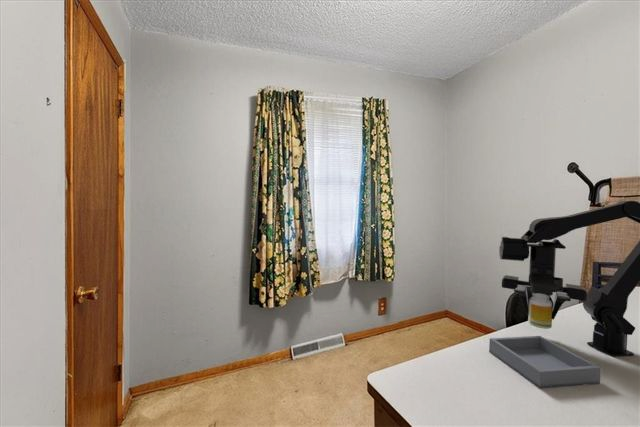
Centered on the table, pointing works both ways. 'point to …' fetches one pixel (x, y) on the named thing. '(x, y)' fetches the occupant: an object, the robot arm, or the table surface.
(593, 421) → the table surface
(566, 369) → the tray
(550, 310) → the supplement bottle
